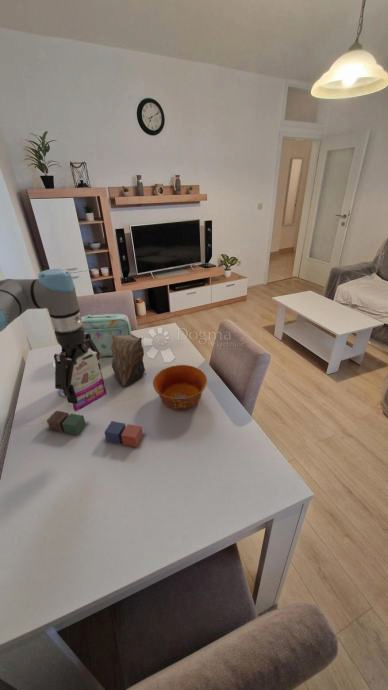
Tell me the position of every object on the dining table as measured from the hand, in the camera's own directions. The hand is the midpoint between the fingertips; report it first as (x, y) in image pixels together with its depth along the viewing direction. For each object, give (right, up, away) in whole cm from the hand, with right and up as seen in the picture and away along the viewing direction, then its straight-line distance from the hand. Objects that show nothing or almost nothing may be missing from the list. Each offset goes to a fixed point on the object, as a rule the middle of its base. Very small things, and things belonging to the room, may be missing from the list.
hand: (84, 389), depth 87 cm
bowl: (+29, -8, +25) cm, 39 cm away
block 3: (+8, -18, +8) cm, 21 cm away
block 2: (-8, -16, +12) cm, 21 cm away
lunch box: (-11, +10, +57) cm, 58 cm away
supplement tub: (-17, -6, +30) cm, 35 cm away
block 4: (+14, -19, +7) cm, 24 cm away
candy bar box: (0, -4, +2) cm, 4 cm away
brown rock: (+4, -1, +38) cm, 38 cm away
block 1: (-14, -16, +13) cm, 24 cm away
